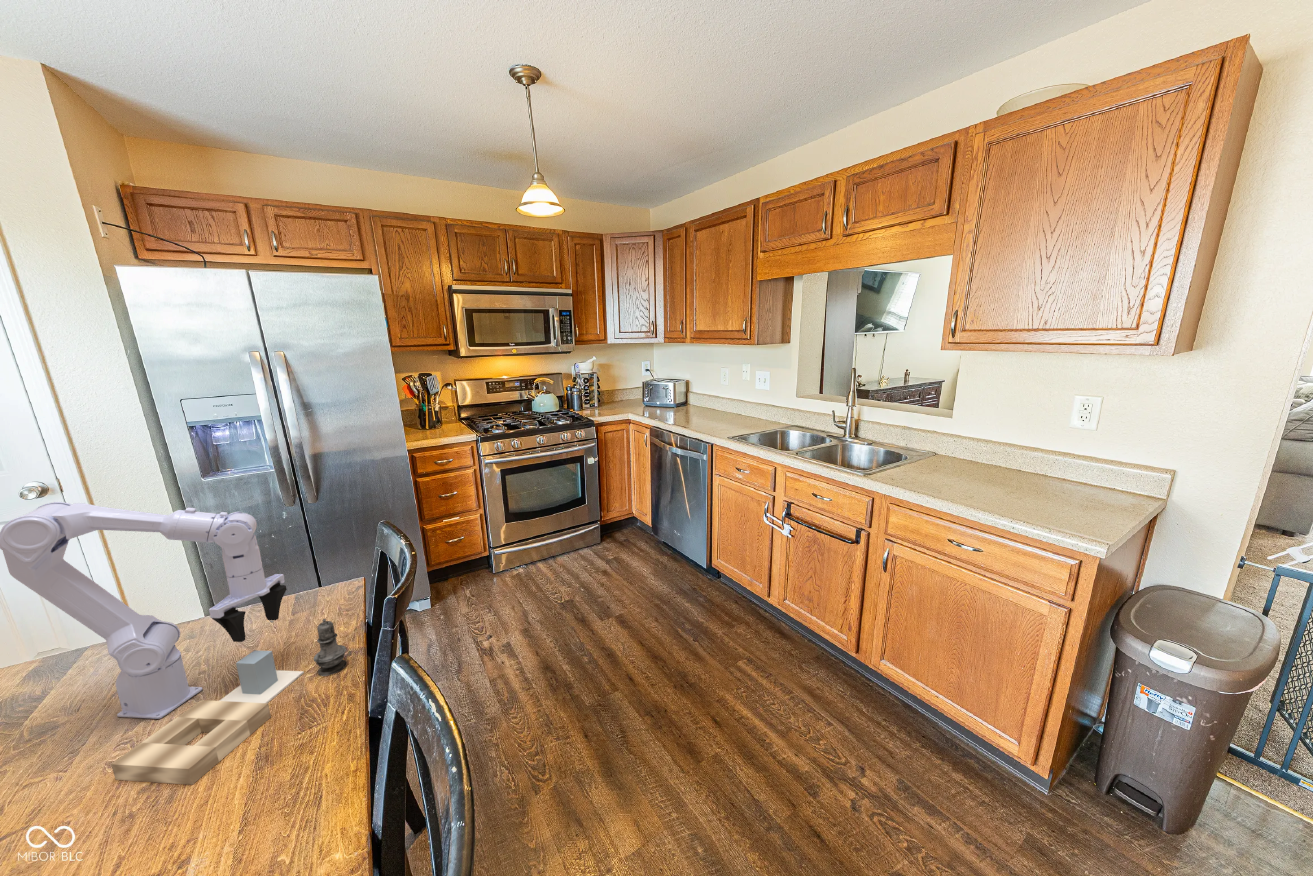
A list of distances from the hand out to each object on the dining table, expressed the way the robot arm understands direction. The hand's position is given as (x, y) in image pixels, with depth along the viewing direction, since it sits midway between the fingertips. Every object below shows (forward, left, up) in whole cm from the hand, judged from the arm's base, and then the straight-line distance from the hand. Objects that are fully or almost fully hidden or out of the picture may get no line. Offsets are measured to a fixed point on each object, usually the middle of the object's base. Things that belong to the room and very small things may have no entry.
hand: (256, 629), depth 99 cm
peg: (+4, -5, -10) cm, 12 cm away
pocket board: (+6, -19, -10) cm, 22 cm away
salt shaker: (+14, +2, -11) cm, 18 cm away
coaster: (+4, -5, -10) cm, 12 cm away
